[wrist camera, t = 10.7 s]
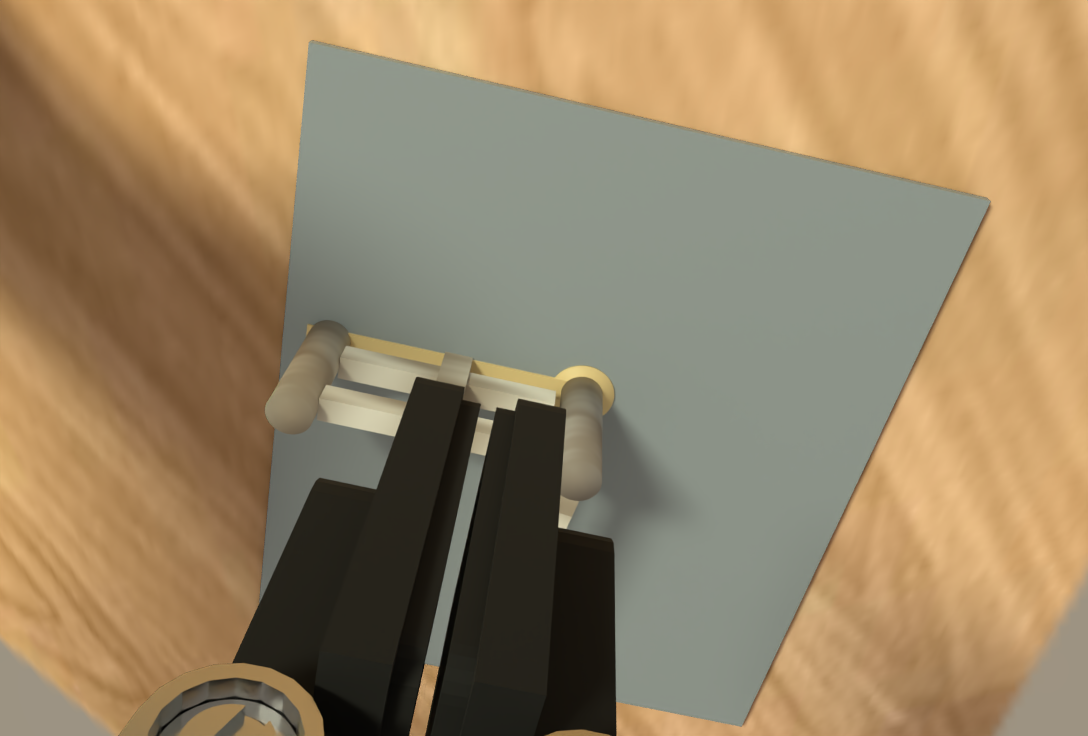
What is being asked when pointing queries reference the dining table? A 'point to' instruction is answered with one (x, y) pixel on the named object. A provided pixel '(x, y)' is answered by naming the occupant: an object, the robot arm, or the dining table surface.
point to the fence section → (331, 351)
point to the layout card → (621, 333)
